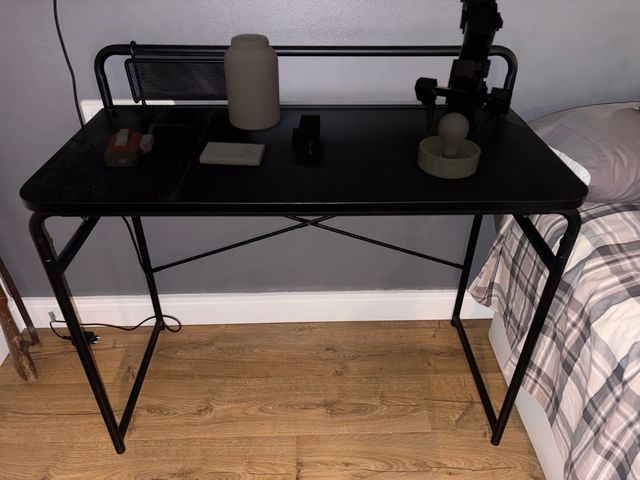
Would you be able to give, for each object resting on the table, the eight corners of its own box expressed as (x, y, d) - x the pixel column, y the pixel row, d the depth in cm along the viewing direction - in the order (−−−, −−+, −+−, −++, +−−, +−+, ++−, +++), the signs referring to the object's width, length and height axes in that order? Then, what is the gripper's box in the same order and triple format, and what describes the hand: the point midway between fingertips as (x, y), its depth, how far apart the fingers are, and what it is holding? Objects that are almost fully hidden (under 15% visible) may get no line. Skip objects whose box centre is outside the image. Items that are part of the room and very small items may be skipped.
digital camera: (296, 143, 114) (295, 113, 110) (320, 144, 114) (320, 114, 110) (292, 164, 106) (291, 132, 102) (318, 164, 105) (318, 133, 101)
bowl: (451, 150, 112) (454, 131, 109) (488, 173, 103) (493, 153, 101) (405, 160, 108) (408, 141, 105) (440, 185, 99) (444, 165, 96)
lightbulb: (444, 173, 102) (453, 121, 95) (426, 161, 106) (433, 110, 100) (468, 167, 104) (478, 116, 98) (449, 155, 109) (458, 106, 102)
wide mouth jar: (290, 119, 126) (288, 35, 115) (259, 135, 117) (254, 46, 106) (251, 108, 131) (245, 27, 120) (218, 124, 123) (209, 38, 111)
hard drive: (209, 148, 112) (265, 150, 111) (200, 164, 105) (259, 166, 104) (208, 141, 111) (264, 143, 110) (199, 157, 104) (258, 159, 103)
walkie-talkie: (148, 168, 103) (158, 130, 119) (144, 148, 101) (155, 112, 117) (103, 170, 102) (119, 131, 118) (98, 150, 99) (115, 113, 115)
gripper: (423, 34, 97) (400, 108, 95) (523, 46, 91) (502, 124, 89) (427, 65, 108) (407, 132, 106) (518, 77, 102) (498, 148, 100)
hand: (451, 134), depth 100 cm, fingers open, 9 cm apart
